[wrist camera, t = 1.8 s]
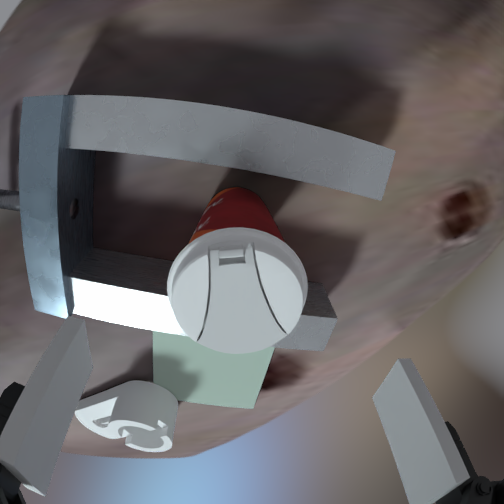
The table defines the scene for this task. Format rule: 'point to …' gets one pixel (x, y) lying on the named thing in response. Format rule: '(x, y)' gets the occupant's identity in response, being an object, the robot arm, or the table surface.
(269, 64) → the table surface
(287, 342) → the vise
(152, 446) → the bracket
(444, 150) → the table surface
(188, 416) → the table surface
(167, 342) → the mat
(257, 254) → the paper cup
